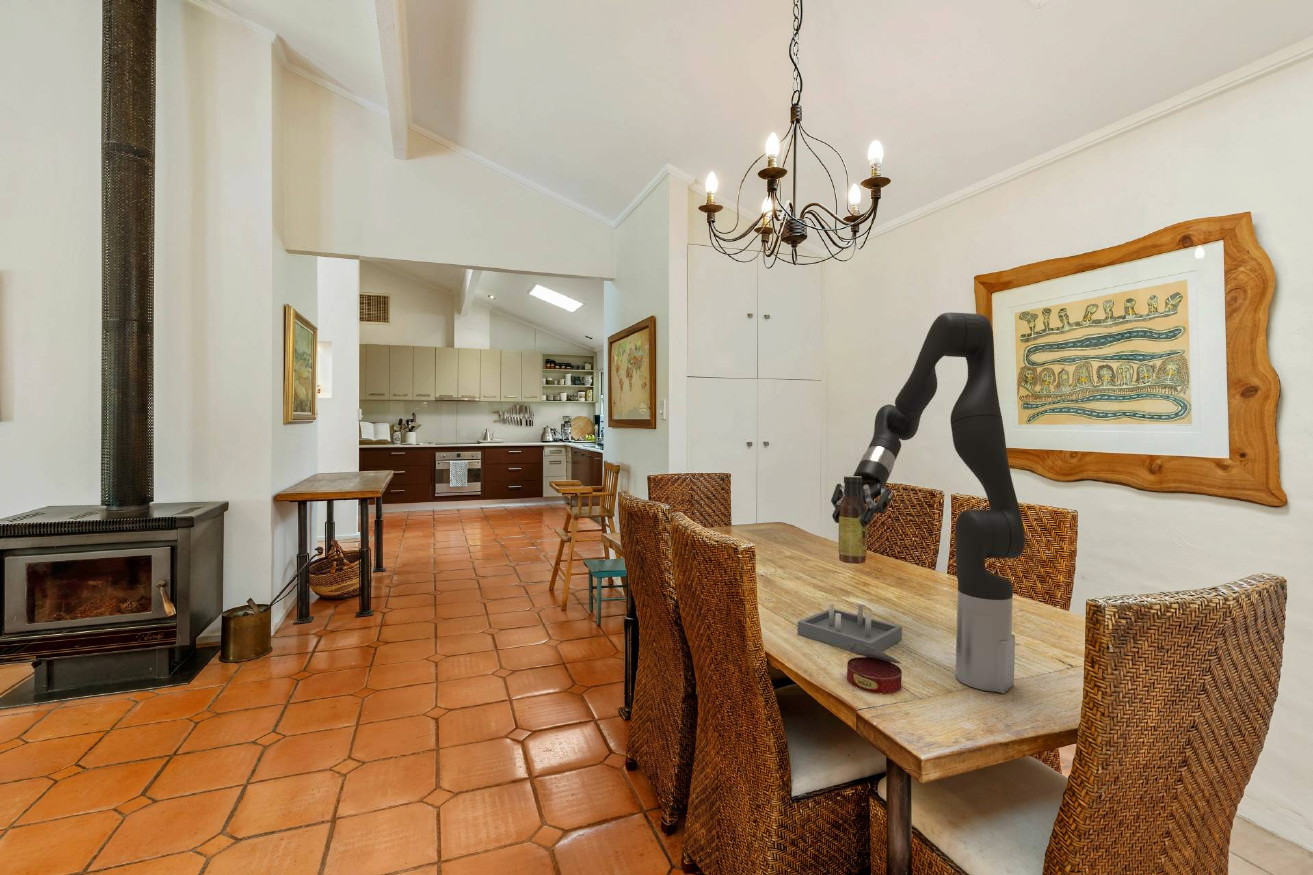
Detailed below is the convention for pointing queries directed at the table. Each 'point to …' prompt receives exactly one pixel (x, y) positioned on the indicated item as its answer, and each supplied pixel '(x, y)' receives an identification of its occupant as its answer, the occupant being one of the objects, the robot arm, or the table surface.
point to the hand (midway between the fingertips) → (849, 522)
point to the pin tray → (849, 629)
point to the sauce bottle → (852, 523)
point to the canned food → (873, 670)
